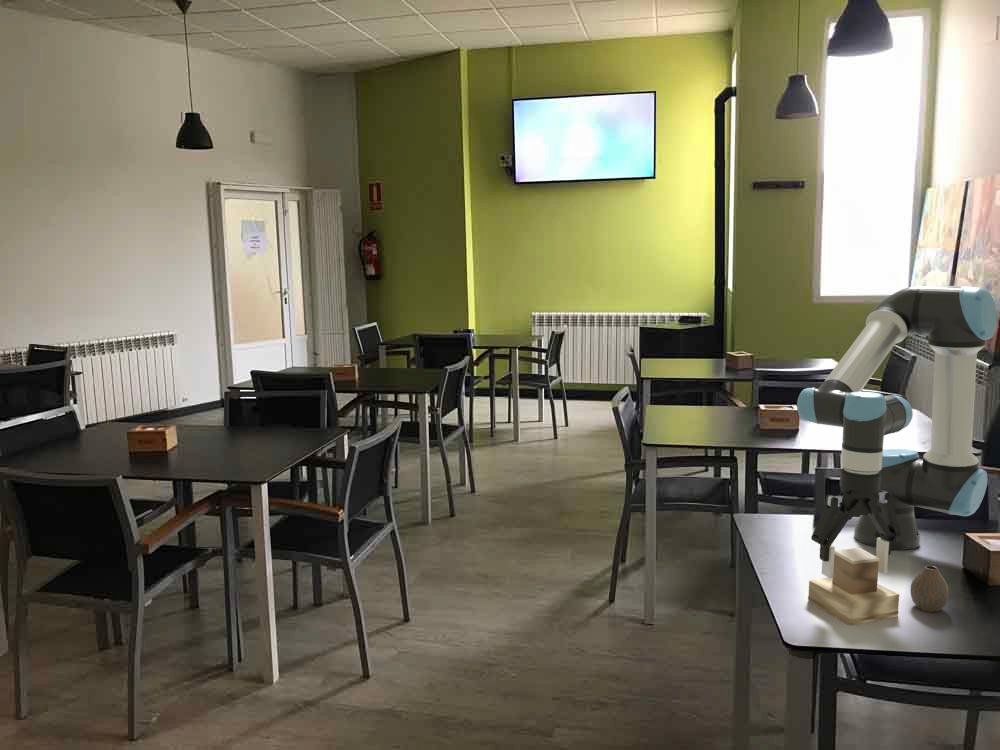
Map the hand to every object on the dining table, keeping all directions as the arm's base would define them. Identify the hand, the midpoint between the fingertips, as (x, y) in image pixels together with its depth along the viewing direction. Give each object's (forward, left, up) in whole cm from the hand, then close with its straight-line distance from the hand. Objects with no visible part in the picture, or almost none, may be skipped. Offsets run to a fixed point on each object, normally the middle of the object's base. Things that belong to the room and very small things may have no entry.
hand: (854, 573), depth 170 cm
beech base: (0, 0, -8) cm, 8 cm away
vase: (-15, +4, -8) cm, 18 cm away
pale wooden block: (0, 0, -3) cm, 3 cm away
